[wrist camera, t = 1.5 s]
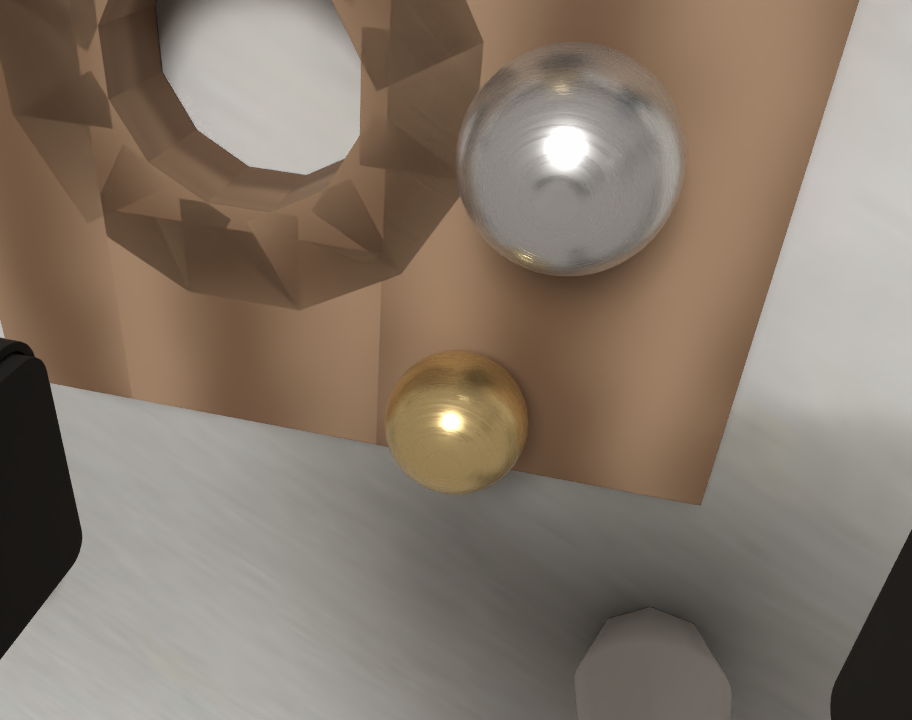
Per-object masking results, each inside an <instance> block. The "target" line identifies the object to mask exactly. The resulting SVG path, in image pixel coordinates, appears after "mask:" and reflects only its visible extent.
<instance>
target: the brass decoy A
mask: <svg viewBox="0 0 912 720" xmlns="http://www.w3.org/2000/svg"><path fill="white" fill-rule="evenodd" d="M384 422H385V434H386V439H387V443H388V446H389V448H390V451H391V453H392V455H393V457H394V459H395V461H396V462H397V464H398V465H399V466H400V468H401V469H402V470H403V471H404V472H405V473H406V474H407V475H408V476H409V477H410V478H411V479H413V480H414V481H415V482H417V483H418V484H420V485H422V486H423V487H426V488H428V489H430V490H433V491H436V492H440V493H445V494H457V495H459V494H468V493H473V492H477V491H480V490H483V489H485V488H487V487H490V486H491V485H493V484H494V483H496V482H497V481H499V480H500V479H502V478H503V477H504V476H505V475H506V474H507V473H508V472H509V471H510V470H511V469H512V467H513V466H514V465H515V463H516V462H517V460H518V458H519V457H520V455H521V453H522V451H523V448H524V445H525V442H526V438H527V432H528V413H527V407H526V403H525V400H524V397H523V395H522V392H521V390H520V388H519V386H518V385H517V383H516V382H515V380H514V379H513V378H512V376H511V375H510V374H509V373H508V372H507V371H506V370H505V369H504V368H503V367H502V366H500V365H499V364H498V363H496V362H495V361H493V360H491V359H489V358H487V357H485V356H483V355H480V354H477V353H473V352H469V351H461V350H452V351H444V352H440V353H436V354H433V355H430V356H427V357H425V358H423V359H422V360H420V361H418V362H417V363H415V364H414V365H412V366H411V367H410V368H409V369H408V370H407V371H406V372H405V373H404V374H403V375H402V376H401V377H400V378H399V380H398V381H397V383H396V384H395V386H394V388H393V390H392V392H391V394H390V396H389V399H388V402H387V406H386V411H385V420H384Z"/></svg>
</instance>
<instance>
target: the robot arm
mask: <svg viewBox="0 0 912 720" xmlns="http://www.w3.org/2000/svg"><path fill="white" fill-rule="evenodd" d="M81 544H82V530H81V526H80V521H79V516H78V512H77V507H76V503H75V498H74V493H73V489H72V484H71V479H70V475H69V470H68V466H67V461H66V456H65V452H64V447H63V443H62V438H61V433H60V429H59V424H58V419H57V415H56V410H55V406H54V401H53V396H52V392H51V387H50V383H49V378H48V373H47V369H46V367H45V364H44V363H43V361H42V360H41V359H39V358H36V357H35V355H34V353H33V350H32V349H31V348H30V347H29V345H28V344H26V343H23V342H21V341H15V340H10V339H4V338H0V659H1V658H2V657H3V655H4V654H5V653H6V652H7V650H8V649H9V648H10V646H11V645H12V644H13V642H14V641H15V640H16V639H17V637H18V636H19V635H20V633H21V632H22V631H23V629H24V628H25V627H26V626H27V624H28V623H29V622H30V620H31V619H32V618H33V616H34V615H35V614H36V613H37V611H38V610H39V609H40V607H41V606H42V605H43V603H44V602H45V601H46V600H47V598H48V597H49V596H50V594H51V593H52V592H53V590H54V589H55V588H56V587H57V585H58V584H59V583H60V581H61V580H62V579H63V577H64V576H65V575H66V574H67V572H68V571H69V570H70V568H71V567H72V566H73V564H74V562H75V561H76V559H77V557H78V554H79V552H80V548H81ZM830 706H831V720H912V530H911V532H910V534H909V536H908V538H907V540H906V542H905V544H904V546H903V548H902V550H901V552H900V554H899V556H898V558H897V560H896V562H895V564H894V566H893V568H892V570H891V572H890V574H889V576H888V578H887V580H886V582H885V584H884V586H883V588H882V590H881V592H880V594H879V596H878V598H877V600H876V602H875V604H874V606H873V608H872V610H871V612H870V614H869V616H868V618H867V620H866V622H865V624H864V626H863V628H862V630H861V632H860V634H859V636H858V638H857V640H856V642H855V644H854V646H853V648H852V650H851V652H850V654H849V656H848V658H847V660H846V662H845V664H844V666H843V668H842V670H841V671H840V673H839V675H838V677H837V679H836V681H835V684H834V687H833V690H832V695H831V705H830Z"/></svg>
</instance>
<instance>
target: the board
mask: <svg viewBox="0 0 912 720" xmlns="http://www.w3.org/2000/svg"><path fill="white" fill-rule="evenodd" d="M156 1H157V0H0V320H1V324H2V328H3V332H4V336H5V339H10V340H15V341H21V342H23V343H26V344H28V345H29V347H30V348H31V349H32V350H33V353H34V355H35V357H36V358H39V359H41V360H42V361H43V363H44V364H45V367H46V369H47V373H48V378H49V383H53V384H58V385H64V386H69V387H74V388H80V389H85V390H90V391H96V392H101V393H106V394H111V395H117V396H122V397H127V398H133V399H138V400H143V401H149V402H154V403H159V404H165V405H170V406H175V407H180V408H186V409H191V410H196V411H202V412H207V413H212V414H218V415H223V416H228V417H234V418H239V419H244V420H249V421H255V422H260V423H265V424H271V425H276V426H281V427H287V428H292V429H297V430H303V431H308V432H313V433H318V434H324V435H329V436H334V437H340V438H345V439H350V440H356V441H361V442H366V443H372V444H377V445H382V446H387V447H389V446H388V443H387V439H386V434H385V422H384V420H385V411H386V406H387V402H388V399H389V396H390V394H391V392H392V390H393V388H394V386H395V384H396V383H397V381H398V380H399V378H400V377H401V376H402V375H403V374H404V373H405V372H406V371H407V370H408V369H409V368H410V367H411V366H412V365H414V364H415V363H417V362H418V361H420V360H422V359H423V358H425V357H427V356H430V355H433V354H436V353H440V352H444V351H452V350H461V351H469V352H473V353H477V354H480V355H483V356H485V357H487V358H489V359H491V360H493V361H495V362H496V363H498V364H499V365H500V366H502V367H503V368H504V369H505V370H506V371H507V372H508V373H509V374H510V375H511V376H512V378H513V379H514V380H515V382H516V383H517V385H518V386H519V388H520V390H521V392H522V395H523V397H524V400H525V403H526V407H527V413H528V432H527V438H526V442H525V445H524V448H523V451H522V453H521V455H520V457H519V458H518V460H517V462H516V463H515V465H514V466H513V467H512V469H511V470H515V471H520V472H525V473H531V474H536V475H541V476H547V477H552V478H557V479H563V480H568V481H573V482H579V483H584V484H589V485H594V486H600V487H605V488H610V489H616V490H621V491H626V492H632V493H637V494H642V495H648V496H653V497H658V498H663V499H669V500H674V501H679V502H685V503H690V504H695V505H701V503H702V499H703V496H704V493H705V490H706V487H707V484H708V480H709V477H710V474H711V471H712V468H713V464H714V461H715V458H716V455H717V452H718V448H719V445H720V442H721V439H722V436H723V433H724V429H725V426H726V423H727V420H728V417H729V413H730V410H731V407H732V404H733V401H734V398H735V394H736V391H737V388H738V385H739V382H740V378H741V375H742V372H743V369H744V366H745V362H746V359H747V356H748V353H749V350H750V347H751V343H752V340H753V337H754V334H755V331H756V327H757V324H758V321H759V318H760V315H761V311H762V308H763V305H764V302H765V299H766V296H767V292H768V289H769V286H770V283H771V280H772V276H773V273H774V270H775V267H776V264H777V261H778V257H779V254H780V251H781V248H782V245H783V241H784V238H785V235H786V232H787V229H788V225H789V222H790V219H791V216H792V213H793V210H794V206H795V203H796V200H797V197H798V194H799V190H800V187H801V184H802V181H803V178H804V174H805V171H806V168H807V165H808V162H809V159H810V155H811V152H812V149H813V146H814V143H815V139H816V136H817V133H818V130H819V127H820V124H821V120H822V117H823V114H824V111H825V108H826V104H827V101H828V98H829V95H830V92H831V88H832V85H833V82H834V79H835V76H836V73H837V69H838V66H839V63H840V60H841V57H842V53H843V50H844V47H845V44H846V41H847V37H848V34H849V31H850V28H851V25H852V22H853V18H854V15H855V12H856V9H857V6H858V2H859V0H332V2H333V4H334V6H335V8H336V10H337V12H338V14H339V16H340V19H341V21H342V23H343V25H344V27H345V29H346V31H347V33H348V35H349V37H350V39H351V41H352V43H353V45H354V47H355V49H356V51H357V53H358V55H359V57H360V59H361V106H360V136H359V138H358V139H357V141H356V142H355V144H354V145H353V147H352V149H351V150H350V152H349V153H348V155H347V156H346V158H345V159H343V160H341V161H339V162H336V163H334V164H332V165H329V166H327V167H325V168H322V169H320V170H318V171H315V172H313V173H311V174H308V175H301V174H294V173H288V172H281V171H274V170H268V169H261V168H254V167H248V166H247V165H246V164H244V163H243V162H241V161H240V160H238V159H237V158H236V157H234V156H233V155H231V154H230V153H229V152H227V151H226V150H224V149H223V148H222V147H220V146H219V145H217V144H216V143H215V142H213V141H212V140H210V139H209V138H207V137H206V136H205V135H203V134H202V133H200V132H199V131H198V130H196V128H195V126H194V125H193V123H192V121H191V120H190V118H189V116H188V115H187V113H186V111H185V110H184V108H183V106H182V104H181V103H180V101H179V99H178V98H177V96H176V94H175V93H174V91H173V89H172V88H171V86H170V84H169V83H168V81H167V79H166V78H165V76H164V74H163V73H162V67H161V58H160V48H159V39H158V30H157V21H156V11H155V3H156ZM566 42H584V43H592V44H598V45H603V46H606V47H609V48H612V49H615V50H617V51H619V52H621V53H623V54H625V55H627V56H629V57H631V58H633V59H634V60H636V61H637V62H638V63H640V64H641V65H643V66H644V67H645V68H647V69H648V70H649V71H650V72H651V73H652V74H653V75H654V76H655V77H656V78H657V79H658V80H659V82H660V83H661V84H662V85H663V87H664V88H665V89H666V91H667V92H668V94H669V96H670V97H671V99H672V101H673V102H674V105H675V107H676V109H677V112H678V114H679V117H680V120H681V124H682V127H683V131H684V135H685V144H686V168H685V174H684V180H683V186H682V189H681V192H680V195H679V198H678V201H677V203H676V205H675V207H674V209H673V211H672V213H671V215H670V217H669V218H668V220H667V222H666V223H665V225H664V226H663V228H662V229H661V230H660V232H659V233H658V234H657V235H656V236H655V238H654V239H653V240H652V241H651V242H650V243H648V244H647V245H646V246H645V247H644V248H643V249H642V250H641V251H639V252H638V253H636V254H635V255H634V256H632V257H631V258H629V259H628V260H626V261H624V262H622V263H621V264H619V265H617V266H615V267H612V268H610V269H607V270H605V271H601V272H597V273H594V274H589V275H582V276H553V275H546V274H542V273H537V272H534V271H531V270H529V269H526V268H523V267H521V266H519V265H517V264H515V263H513V262H511V261H510V260H508V259H507V258H505V257H504V256H502V255H501V254H499V253H498V252H497V251H496V250H495V249H493V248H492V247H491V246H490V245H489V244H488V243H487V242H486V241H485V240H484V239H483V238H482V236H481V235H480V234H479V232H478V231H477V230H476V228H475V227H474V225H473V223H472V222H471V220H470V218H469V216H468V214H467V212H466V210H465V207H464V205H463V202H462V200H461V197H460V193H459V189H458V185H457V177H456V148H457V141H458V136H459V132H460V129H461V125H462V122H463V120H464V118H465V115H466V113H467V111H468V108H469V106H470V104H471V103H472V101H473V99H474V98H475V96H476V95H477V93H478V92H479V90H480V89H481V88H482V87H483V85H484V84H485V83H486V82H487V81H488V80H489V79H490V78H491V77H492V76H493V75H494V74H495V73H496V72H497V71H498V70H499V69H500V68H502V67H503V66H504V65H506V64H507V63H509V62H510V61H511V60H513V59H514V58H516V57H518V56H520V55H522V54H524V53H526V52H528V51H531V50H533V49H536V48H539V47H542V46H546V45H551V44H556V43H566Z"/></svg>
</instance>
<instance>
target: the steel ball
mask: <svg viewBox="0 0 912 720" xmlns="http://www.w3.org/2000/svg"><path fill="white" fill-rule="evenodd" d="M685 168H686V144H685V135H684V131H683V127H682V124H681V120H680V117H679V114H678V112H677V109H676V107H675V105H674V102H673V101H672V99H671V97H670V96H669V94H668V92H667V91H666V89H665V88H664V87H663V85H662V84H661V83H660V82H659V80H658V79H657V78H656V77H655V76H654V75H653V74H652V73H651V72H650V71H649V70H648V69H647V68H645V67H644V66H643V65H641V64H640V63H638V62H637V61H636V60H634V59H633V58H631V57H629V56H627V55H625V54H623V53H621V52H619V51H617V50H615V49H612V48H609V47H606V46H603V45H598V44H592V43H584V42H566V43H556V44H551V45H546V46H542V47H539V48H536V49H533V50H531V51H528V52H526V53H524V54H522V55H520V56H518V57H516V58H514V59H513V60H511V61H510V62H509V63H507V64H506V65H504V66H503V67H502V68H500V69H499V70H498V71H497V72H496V73H495V74H494V75H493V76H492V77H491V78H490V79H489V80H488V81H487V82H486V83H485V84H484V85H483V87H482V88H481V89H480V90H479V92H478V93H477V95H476V96H475V98H474V99H473V101H472V103H471V104H470V106H469V108H468V111H467V113H466V115H465V118H464V120H463V122H462V125H461V129H460V132H459V136H458V141H457V148H456V177H457V185H458V189H459V193H460V197H461V200H462V202H463V205H464V207H465V210H466V212H467V214H468V216H469V218H470V220H471V222H472V223H473V225H474V227H475V228H476V230H477V231H478V232H479V234H480V235H481V236H482V238H483V239H484V240H485V241H486V242H487V243H488V244H489V245H490V246H491V247H492V248H493V249H495V250H496V251H497V252H498V253H499V254H501V255H502V256H504V257H505V258H507V259H508V260H510V261H511V262H513V263H515V264H517V265H519V266H521V267H523V268H526V269H529V270H531V271H534V272H537V273H542V274H546V275H553V276H582V275H589V274H594V273H597V272H601V271H605V270H607V269H610V268H612V267H615V266H617V265H619V264H621V263H622V262H624V261H626V260H628V259H629V258H631V257H632V256H634V255H635V254H636V253H638V252H639V251H641V250H642V249H643V248H644V247H645V246H646V245H647V244H648V243H650V242H651V241H652V240H653V239H654V238H655V236H656V235H657V234H658V233H659V232H660V230H661V229H662V228H663V226H664V225H665V223H666V222H667V220H668V218H669V217H670V215H671V213H672V211H673V209H674V207H675V205H676V203H677V201H678V198H679V195H680V192H681V189H682V186H683V180H684V174H685Z"/></svg>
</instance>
